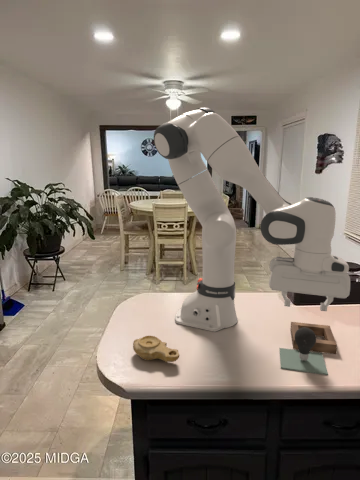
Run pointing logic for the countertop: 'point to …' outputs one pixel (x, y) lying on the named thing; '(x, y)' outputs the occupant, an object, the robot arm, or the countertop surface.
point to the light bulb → (305, 342)
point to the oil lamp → (154, 349)
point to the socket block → (320, 330)
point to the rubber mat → (293, 362)
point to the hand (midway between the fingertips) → (304, 307)
